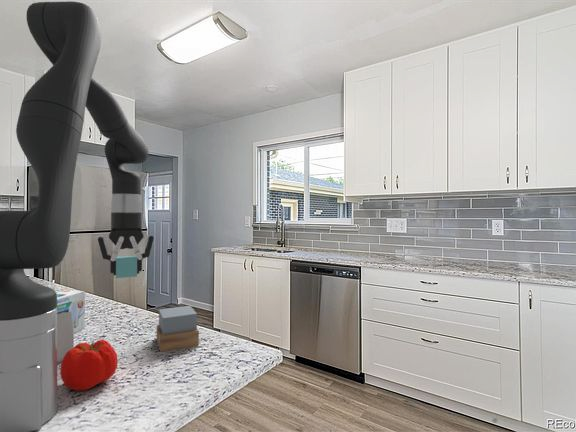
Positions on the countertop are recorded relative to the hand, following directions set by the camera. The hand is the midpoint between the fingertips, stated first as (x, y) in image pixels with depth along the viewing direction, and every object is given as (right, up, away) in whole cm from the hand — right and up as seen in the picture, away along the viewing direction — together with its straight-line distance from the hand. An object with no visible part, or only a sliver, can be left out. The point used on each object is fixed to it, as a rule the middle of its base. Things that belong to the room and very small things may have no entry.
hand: (126, 273), depth 91 cm
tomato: (+6, -17, -26) cm, 32 cm away
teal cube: (0, -1, 0) cm, 1 cm away
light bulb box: (-18, -17, 0) cm, 24 cm away
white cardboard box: (-9, -17, -16) cm, 24 cm away
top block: (+15, -13, -5) cm, 21 cm away
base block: (+16, -17, -5) cm, 23 cm away
